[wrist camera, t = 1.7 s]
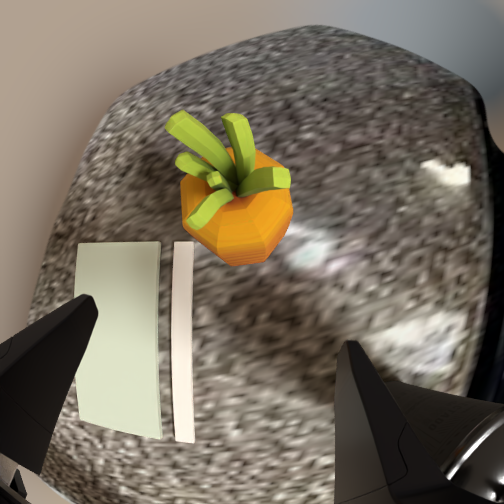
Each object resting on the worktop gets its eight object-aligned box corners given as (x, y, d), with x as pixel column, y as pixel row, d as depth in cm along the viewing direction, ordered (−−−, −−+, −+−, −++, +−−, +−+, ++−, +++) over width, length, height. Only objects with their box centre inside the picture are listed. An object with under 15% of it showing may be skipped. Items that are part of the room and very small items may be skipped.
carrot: (295, 260, 22) (347, 158, 7) (237, 294, 21) (171, 257, 7) (261, 205, 23) (250, 51, 8) (205, 237, 22) (111, 120, 8)
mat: (162, 436, 19) (160, 439, 19) (83, 418, 20) (80, 419, 19) (161, 243, 22) (158, 241, 22) (82, 244, 23) (78, 243, 22)
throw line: (195, 441, 19) (193, 443, 19) (177, 438, 19) (175, 440, 19) (194, 242, 22) (193, 241, 22) (175, 242, 22) (174, 241, 22)
